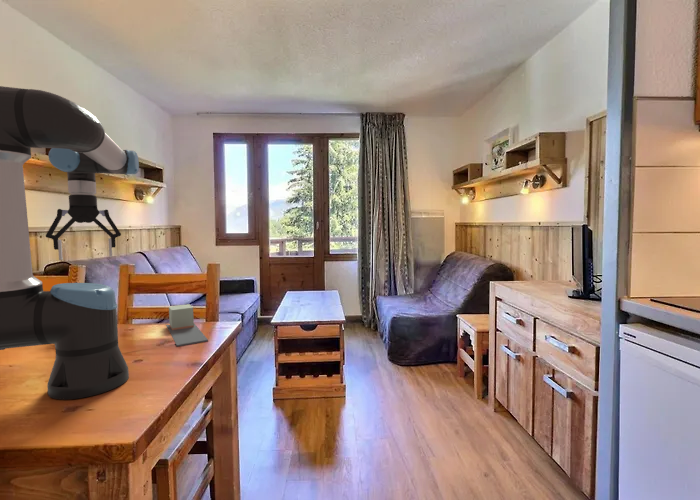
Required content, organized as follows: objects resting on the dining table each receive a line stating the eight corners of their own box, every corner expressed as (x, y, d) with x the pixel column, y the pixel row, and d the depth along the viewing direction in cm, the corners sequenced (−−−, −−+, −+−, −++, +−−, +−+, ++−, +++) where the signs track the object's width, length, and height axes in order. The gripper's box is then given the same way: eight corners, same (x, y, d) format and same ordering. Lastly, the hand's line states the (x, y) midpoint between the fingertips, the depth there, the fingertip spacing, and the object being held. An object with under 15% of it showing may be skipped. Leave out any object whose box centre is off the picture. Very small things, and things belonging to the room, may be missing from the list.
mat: (208, 341, 115) (208, 339, 115) (176, 346, 110) (176, 345, 110) (192, 322, 138) (192, 320, 138) (165, 325, 133) (165, 324, 133)
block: (193, 326, 130) (193, 307, 129) (172, 330, 126) (171, 310, 126) (190, 322, 136) (189, 304, 135) (169, 325, 132) (168, 306, 131)
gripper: (125, 196, 131) (129, 255, 132) (34, 194, 117) (39, 260, 118) (127, 195, 125) (130, 256, 126) (31, 192, 111) (36, 261, 112)
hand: (86, 258), depth 122 cm, fingers open, 13 cm apart
